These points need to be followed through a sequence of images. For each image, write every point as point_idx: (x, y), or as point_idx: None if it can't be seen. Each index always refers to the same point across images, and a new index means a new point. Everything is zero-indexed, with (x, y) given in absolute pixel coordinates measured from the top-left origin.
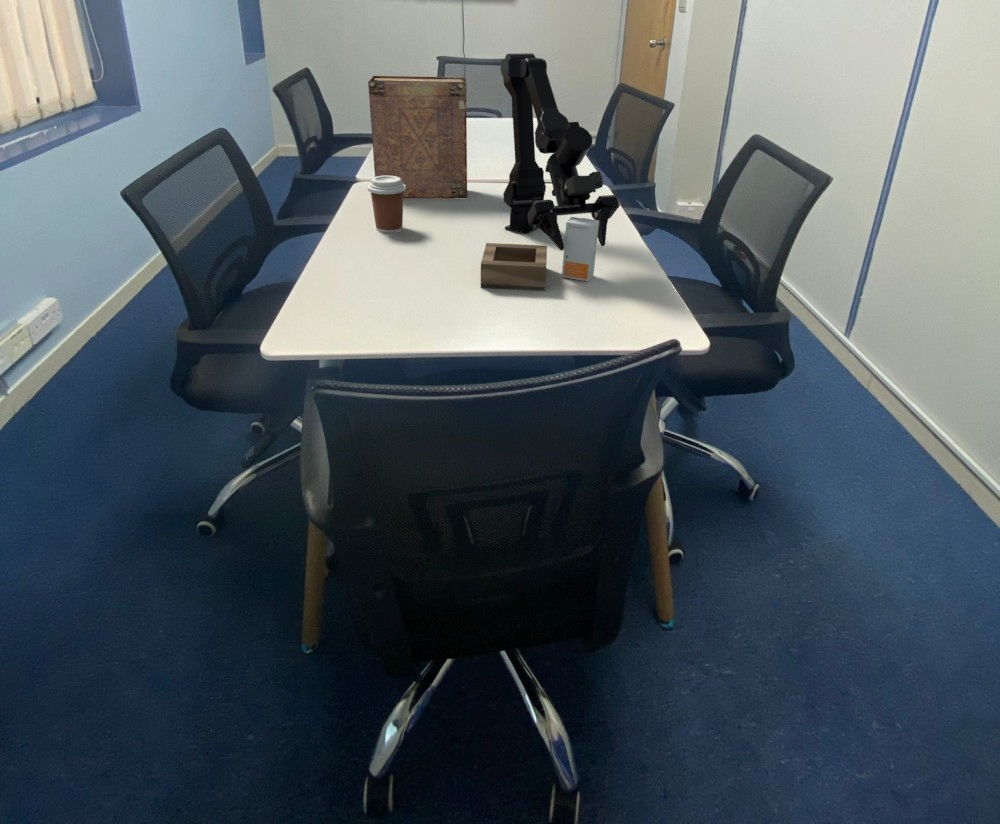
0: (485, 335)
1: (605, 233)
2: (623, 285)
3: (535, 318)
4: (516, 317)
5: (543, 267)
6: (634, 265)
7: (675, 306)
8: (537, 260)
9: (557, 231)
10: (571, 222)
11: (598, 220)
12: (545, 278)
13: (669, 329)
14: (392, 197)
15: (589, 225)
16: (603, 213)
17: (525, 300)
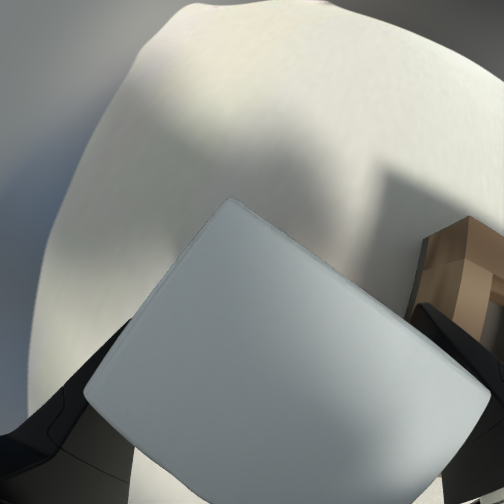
0: (498, 96)
1: (91, 361)
2: (153, 224)
3: (446, 105)
4: (476, 123)
5: (475, 219)
6: (60, 372)
7: (121, 89)
8: (484, 295)
9: (490, 368)
10: (464, 380)
11: (87, 392)
12: (445, 228)
13: (202, 22)
14: None
15: (286, 235)
16: (13, 464)
17: (468, 191)
